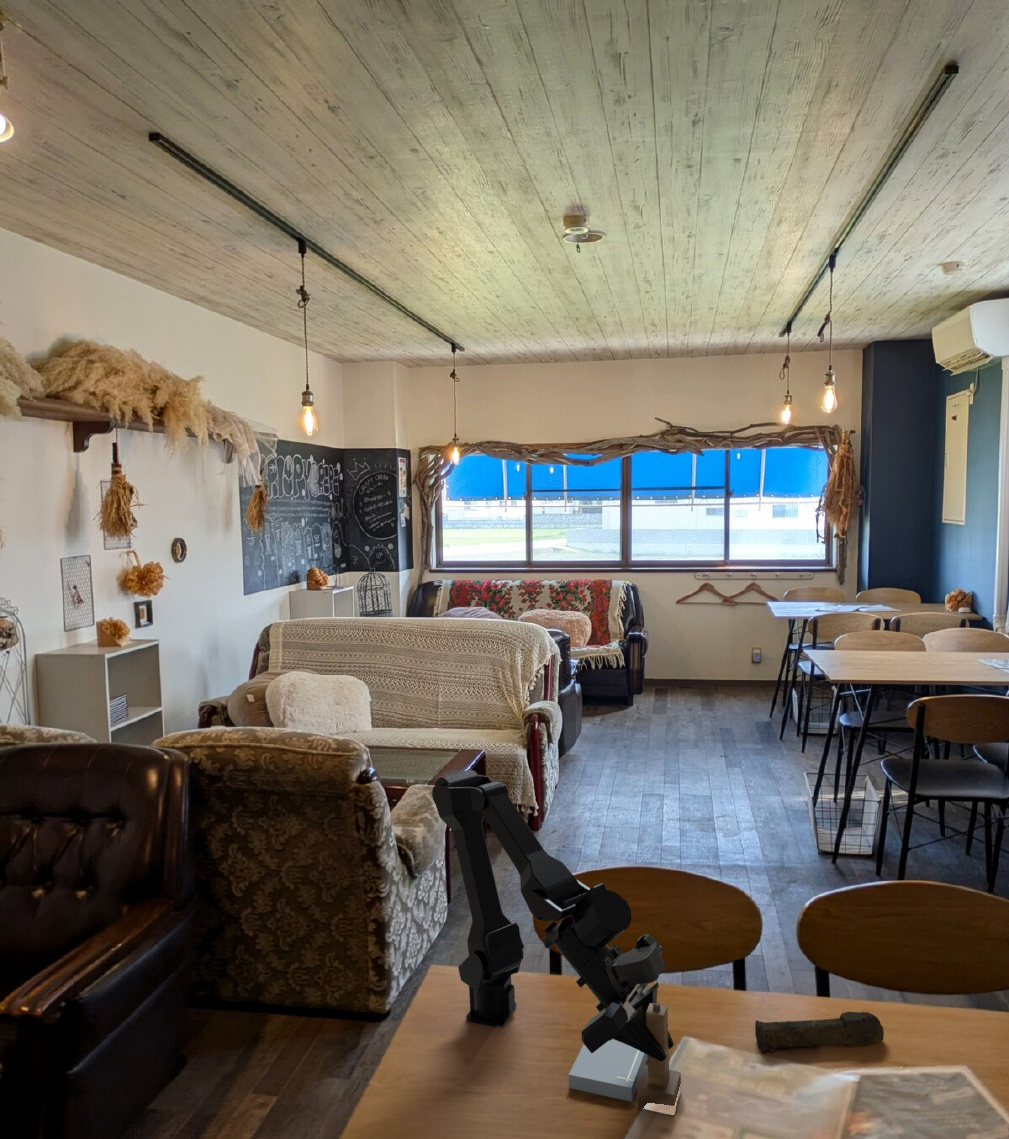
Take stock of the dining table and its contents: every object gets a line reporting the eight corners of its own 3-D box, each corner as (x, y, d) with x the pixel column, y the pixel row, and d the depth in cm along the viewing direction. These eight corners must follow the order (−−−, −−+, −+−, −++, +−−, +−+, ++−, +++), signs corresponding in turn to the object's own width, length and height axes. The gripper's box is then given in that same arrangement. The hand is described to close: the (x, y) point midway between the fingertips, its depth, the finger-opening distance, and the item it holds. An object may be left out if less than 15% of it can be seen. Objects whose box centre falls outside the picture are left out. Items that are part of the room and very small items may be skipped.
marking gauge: (637, 1108, 118) (634, 1011, 117) (645, 1085, 123) (642, 992, 122) (674, 1116, 116) (671, 1018, 115) (681, 1092, 121) (678, 998, 120)
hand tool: (760, 1057, 128) (760, 1026, 128) (753, 1040, 132) (753, 1011, 132) (890, 1054, 128) (890, 1024, 127) (879, 1038, 132) (879, 1008, 131)
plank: (569, 1087, 123) (568, 1073, 123) (604, 1013, 140) (604, 1001, 140) (631, 1101, 119) (631, 1087, 119) (660, 1024, 137) (659, 1011, 137)
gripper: (600, 957, 112) (686, 1063, 107) (650, 898, 128) (727, 988, 123) (547, 1001, 116) (627, 1105, 111) (603, 939, 132) (675, 1027, 128)
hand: (667, 1053), depth 118 cm, fingers closed on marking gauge, 3 cm apart
